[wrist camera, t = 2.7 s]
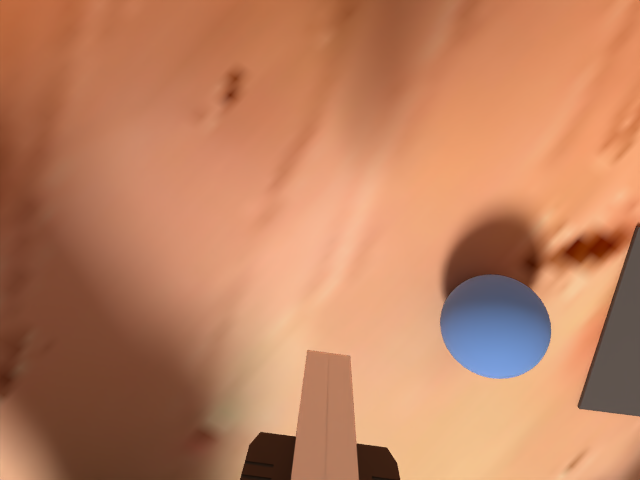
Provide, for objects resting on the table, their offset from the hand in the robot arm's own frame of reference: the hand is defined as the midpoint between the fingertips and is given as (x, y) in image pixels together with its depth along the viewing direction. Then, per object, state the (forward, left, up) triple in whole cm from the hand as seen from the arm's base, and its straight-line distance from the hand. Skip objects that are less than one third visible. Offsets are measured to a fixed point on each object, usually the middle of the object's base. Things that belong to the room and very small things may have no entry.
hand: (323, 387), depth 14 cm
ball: (+9, 0, -8) cm, 12 cm away
